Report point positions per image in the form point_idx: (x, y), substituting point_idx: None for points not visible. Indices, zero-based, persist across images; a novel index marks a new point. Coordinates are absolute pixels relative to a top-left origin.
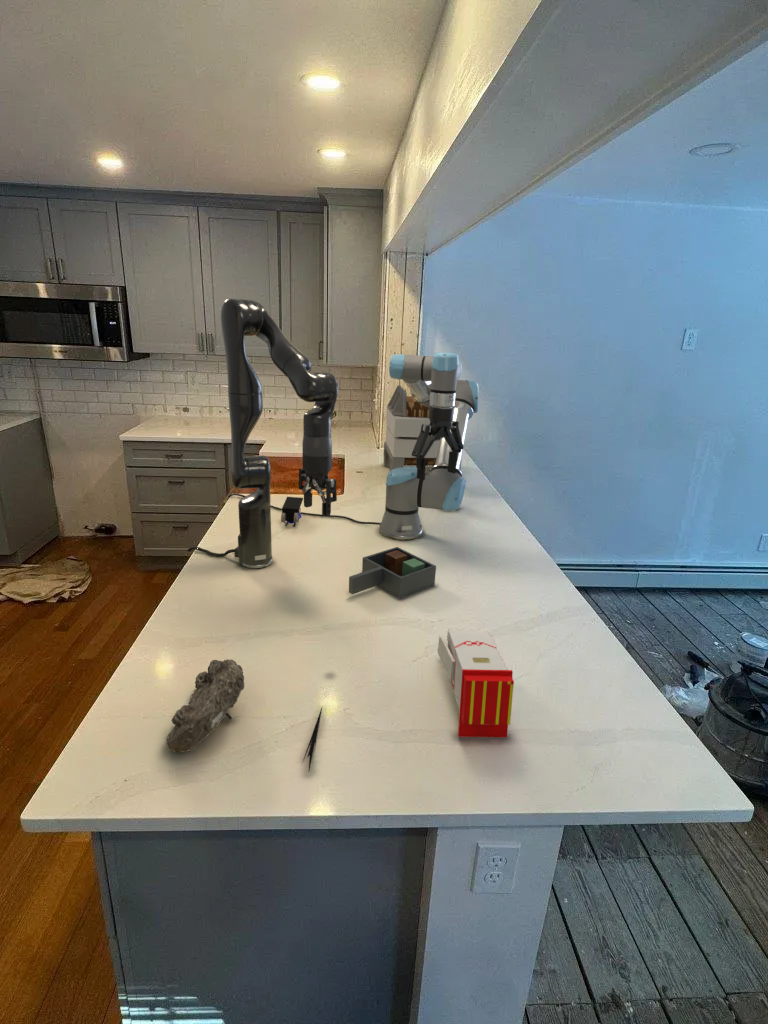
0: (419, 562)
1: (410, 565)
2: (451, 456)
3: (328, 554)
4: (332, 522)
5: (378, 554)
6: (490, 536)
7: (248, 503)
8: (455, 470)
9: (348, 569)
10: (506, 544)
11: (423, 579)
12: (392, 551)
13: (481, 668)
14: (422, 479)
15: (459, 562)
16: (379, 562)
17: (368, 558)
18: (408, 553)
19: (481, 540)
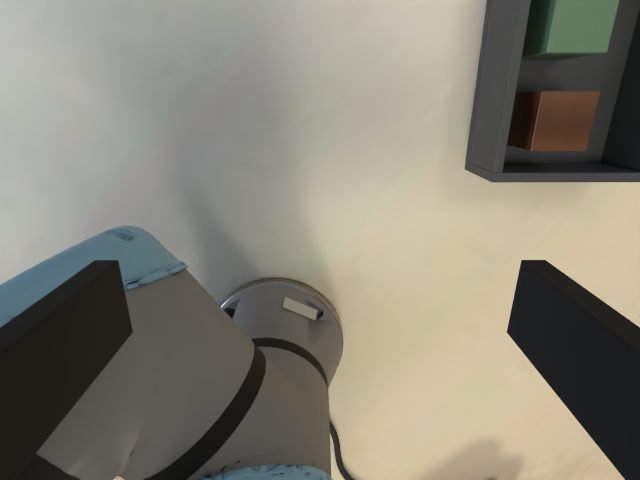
0: (566, 4)
1: (616, 4)
2: (7, 431)
3: None
4: (385, 467)
5: (589, 172)
6: (25, 153)
7: None
8: (82, 271)
9: (586, 229)
10: (14, 64)
11: None
12: (520, 171)
13: None
14: (548, 267)
15: (282, 58)
16: (564, 166)
17: (632, 171)
18: (510, 111)
19: (80, 147)
